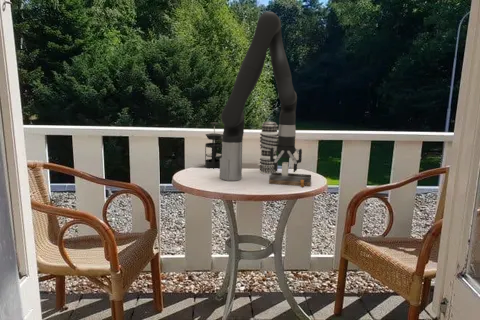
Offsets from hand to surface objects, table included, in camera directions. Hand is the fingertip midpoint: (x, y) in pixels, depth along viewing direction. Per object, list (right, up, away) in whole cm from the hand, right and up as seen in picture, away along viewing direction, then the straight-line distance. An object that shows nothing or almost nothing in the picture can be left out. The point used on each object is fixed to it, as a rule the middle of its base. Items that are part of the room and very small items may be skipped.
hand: (285, 171), depth 187 cm
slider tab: (0, -3, +1) cm, 3 cm away
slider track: (+2, -5, +1) cm, 6 cm away
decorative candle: (-6, -1, +20) cm, 21 cm away
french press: (-33, +1, +31) cm, 45 cm away
